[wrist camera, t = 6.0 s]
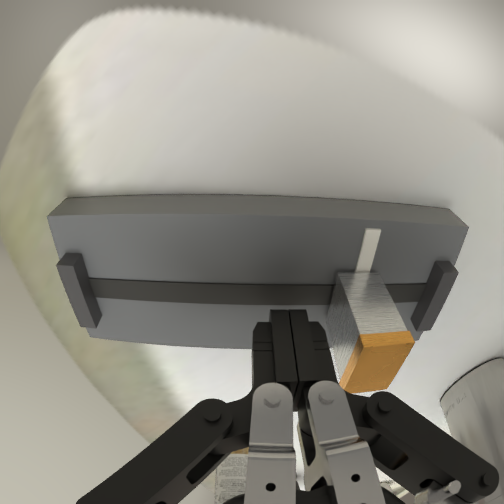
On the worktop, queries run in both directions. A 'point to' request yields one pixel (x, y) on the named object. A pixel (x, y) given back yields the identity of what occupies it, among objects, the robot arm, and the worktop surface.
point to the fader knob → (366, 333)
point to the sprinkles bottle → (231, 476)
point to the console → (243, 262)
